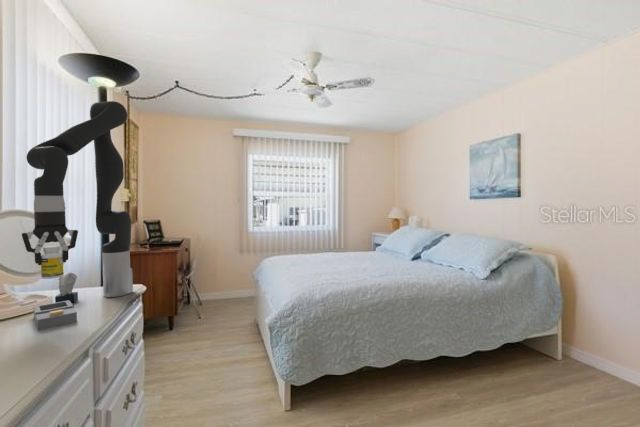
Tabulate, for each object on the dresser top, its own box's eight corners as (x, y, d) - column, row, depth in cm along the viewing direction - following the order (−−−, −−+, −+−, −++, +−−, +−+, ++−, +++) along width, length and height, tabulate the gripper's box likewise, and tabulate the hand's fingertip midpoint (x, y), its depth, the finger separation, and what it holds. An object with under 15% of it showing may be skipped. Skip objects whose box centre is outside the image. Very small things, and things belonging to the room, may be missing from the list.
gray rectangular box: (32, 312, 106) (32, 301, 106) (66, 306, 112) (66, 295, 112) (37, 330, 91) (37, 317, 91) (77, 321, 98) (76, 309, 97)
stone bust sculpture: (79, 298, 122) (78, 269, 121) (72, 304, 114) (71, 274, 114) (61, 300, 119) (60, 271, 119) (53, 306, 112) (52, 275, 112)
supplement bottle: (37, 279, 98) (36, 248, 98) (47, 275, 103) (46, 245, 103) (58, 278, 100) (57, 247, 99) (66, 274, 105) (65, 245, 105)
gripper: (76, 209, 108) (78, 258, 109) (18, 210, 98) (20, 265, 99) (80, 209, 103) (82, 261, 104) (19, 211, 93) (21, 268, 94)
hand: (52, 263), depth 101 cm, fingers closed on supplement bottle, 5 cm apart
